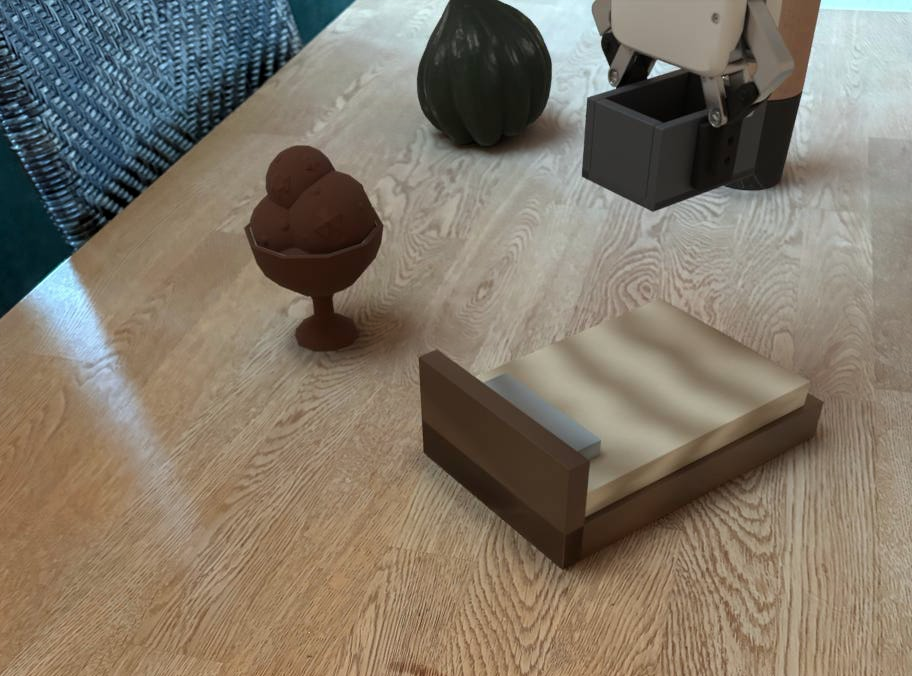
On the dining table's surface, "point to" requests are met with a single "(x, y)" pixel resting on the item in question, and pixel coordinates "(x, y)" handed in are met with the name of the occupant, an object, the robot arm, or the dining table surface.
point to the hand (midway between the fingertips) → (668, 163)
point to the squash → (483, 72)
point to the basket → (656, 139)
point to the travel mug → (783, 95)
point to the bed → (561, 470)
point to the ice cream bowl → (314, 239)
